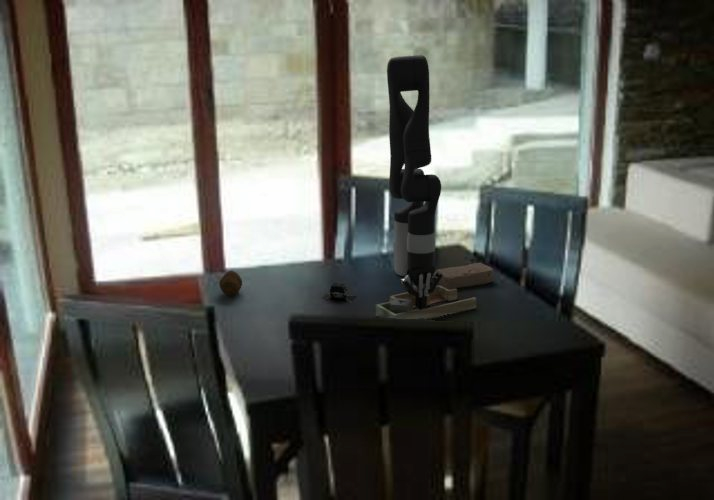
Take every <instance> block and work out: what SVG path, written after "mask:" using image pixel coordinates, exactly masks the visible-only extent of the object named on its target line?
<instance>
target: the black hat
mask: <svg viewBox="0 0 714 500" xmlns="http://www.w3.org/2000/svg"><path fill="white" fill-rule="evenodd" d="M347 292H348V289H347V286H346V283H338V282H333V283H332V284H331V286H330V289H329V293H325V295H323V297H321V299H320V300H321V301H327V302H340V303H341V302H343V303H344V302H345V303H353V302H354V301H355V299H356V298H357V296H358V295H351V294H347Z"/></svg>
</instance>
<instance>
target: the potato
mask: <svg viewBox="0 0 714 500" xmlns="http://www.w3.org/2000/svg"><path fill="white" fill-rule="evenodd" d="M242 286H243V280H242V277H241V276H240V275H239V274H238V272H236V271H234V270H228V272H226V273H225V274H224V275H223V276H222V277H221V279H220V280H219V288H220V290H221V292H222V293H223V294H224V295H225V296H228V297H234V296H235V295H237V294H238V293H239V291H240V290H241V289H242Z"/></svg>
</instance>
